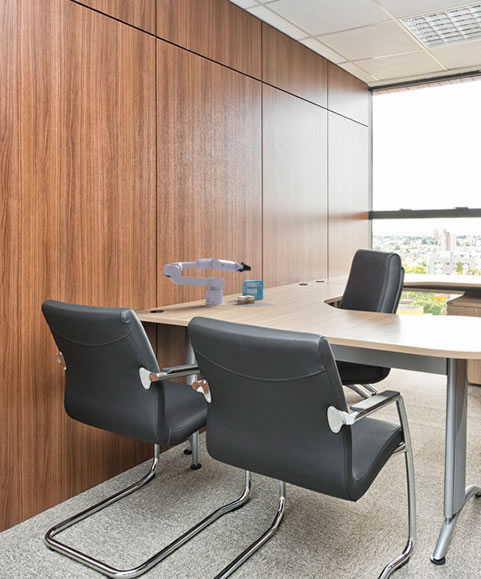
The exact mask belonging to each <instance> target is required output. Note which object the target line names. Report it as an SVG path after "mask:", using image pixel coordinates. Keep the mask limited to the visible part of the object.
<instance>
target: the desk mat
mask: <svg viewBox="0 0 481 579" xmlns="http://www.w3.org/2000/svg"><path fill="white" fill-rule="evenodd" d="M233 305H235V306H239V307H245V308H258V307H267V306H268V307H269V306H274V304H271V303H267V302H260V301H254V304H238V302H235V303H233Z"/></svg>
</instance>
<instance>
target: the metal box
mask: <svg viewBox="0 0 481 579" xmlns="http://www.w3.org/2000/svg"><path fill="white" fill-rule="evenodd" d="M254 302H255V300H254V296H242V295H238V296H237V303H238V304H254Z"/></svg>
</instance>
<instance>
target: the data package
mask: <svg viewBox="0 0 481 579" xmlns="http://www.w3.org/2000/svg"><path fill="white" fill-rule="evenodd" d="M241 284H242V286H241V289H242V290H241V292H242V293H241V294H242V295H241V296H254V301H258V300H259V301H260V300H263V299H264V282H263V280H260V279H251V280H243V281H242V282H241Z"/></svg>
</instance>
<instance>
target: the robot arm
mask: <svg viewBox="0 0 481 579" xmlns="http://www.w3.org/2000/svg"><path fill="white" fill-rule="evenodd" d="M192 268H193V269H194V268H195V269H196V270H198V271H200V270H208V269H211V270H219V271H225V272H231V273H236V272H239V273H243V272H250V271H252V266H250V265H248V264H246V263H245V262H243V261H241V262H240V264H239V263H238V262H237V259H233V261H232V260H231V261H230V260H225V259H218V258H212V257H211V258H210V257H207V258H202V257H198V258H197V259H196V260H195V261H177V262H171V263H165V264H164V265H163V267H162V273H163V275H164V277H165V278H167V279H169V281H171V282H173V283H174V284H175V285H179V286H196V287H197V286H201V287H203V286H204V287H209V289H207V290H206V291H205V302H204V305H207V306H217V305H226V303H225V302H224V287H225V285H226V280H225V278H224V277H218V276H214V275H212V276H210V277H198V276H197V277H196V276H194V277H193V276H183V275H182V273H181V272H182V271H183V269H192Z"/></svg>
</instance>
